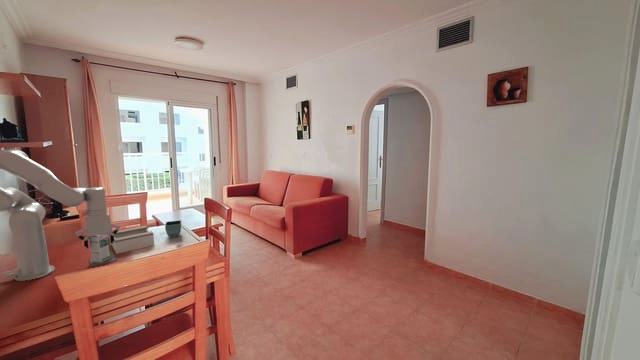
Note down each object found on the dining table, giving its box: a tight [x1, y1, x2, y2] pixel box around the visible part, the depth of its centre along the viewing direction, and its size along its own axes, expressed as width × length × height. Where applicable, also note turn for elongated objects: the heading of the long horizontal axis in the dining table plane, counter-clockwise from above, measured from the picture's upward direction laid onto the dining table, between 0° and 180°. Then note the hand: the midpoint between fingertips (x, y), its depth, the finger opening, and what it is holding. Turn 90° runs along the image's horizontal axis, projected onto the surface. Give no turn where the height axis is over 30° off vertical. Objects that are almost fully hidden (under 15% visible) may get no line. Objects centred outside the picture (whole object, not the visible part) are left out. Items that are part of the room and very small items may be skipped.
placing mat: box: [89, 253, 118, 267], centre depth 136 cm, size 10×10×1 cm
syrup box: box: [88, 234, 113, 262], centre depth 135 cm, size 6×6×14 cm
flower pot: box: [164, 219, 182, 239], centre depth 171 cm, size 9×9×9 cm
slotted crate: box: [111, 225, 155, 255], centre depth 156 cm, size 18×18×8 cm
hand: (99, 245), depth 135 cm, fingers open, 9 cm apart
